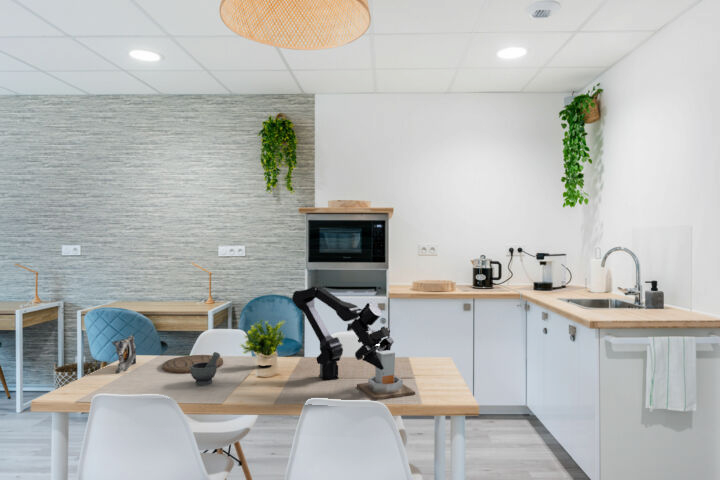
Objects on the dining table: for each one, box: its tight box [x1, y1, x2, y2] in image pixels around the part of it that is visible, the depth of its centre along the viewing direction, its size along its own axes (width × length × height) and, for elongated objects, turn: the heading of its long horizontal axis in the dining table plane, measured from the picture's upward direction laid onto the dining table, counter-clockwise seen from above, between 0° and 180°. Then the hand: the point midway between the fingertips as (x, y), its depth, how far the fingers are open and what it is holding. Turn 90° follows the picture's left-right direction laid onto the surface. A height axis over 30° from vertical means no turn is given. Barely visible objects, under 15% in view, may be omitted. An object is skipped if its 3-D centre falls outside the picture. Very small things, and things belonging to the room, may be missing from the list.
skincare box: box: [374, 349, 396, 384], centre depth 167 cm, size 6×4×12 cm
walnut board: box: [356, 382, 416, 401], centre depth 167 cm, size 16×16×1 cm
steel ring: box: [367, 375, 404, 393], centre depth 167 cm, size 12×12×3 cm
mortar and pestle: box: [190, 351, 221, 387], centre depth 174 cm, size 11×9×12 cm
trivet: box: [162, 354, 224, 374], centre depth 200 cm, size 25×25×2 cm
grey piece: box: [112, 334, 137, 374], centre depth 194 cm, size 15×4×13 cm, turn 7°
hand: (388, 367), depth 166 cm, fingers closed on skincare box, 7 cm apart
